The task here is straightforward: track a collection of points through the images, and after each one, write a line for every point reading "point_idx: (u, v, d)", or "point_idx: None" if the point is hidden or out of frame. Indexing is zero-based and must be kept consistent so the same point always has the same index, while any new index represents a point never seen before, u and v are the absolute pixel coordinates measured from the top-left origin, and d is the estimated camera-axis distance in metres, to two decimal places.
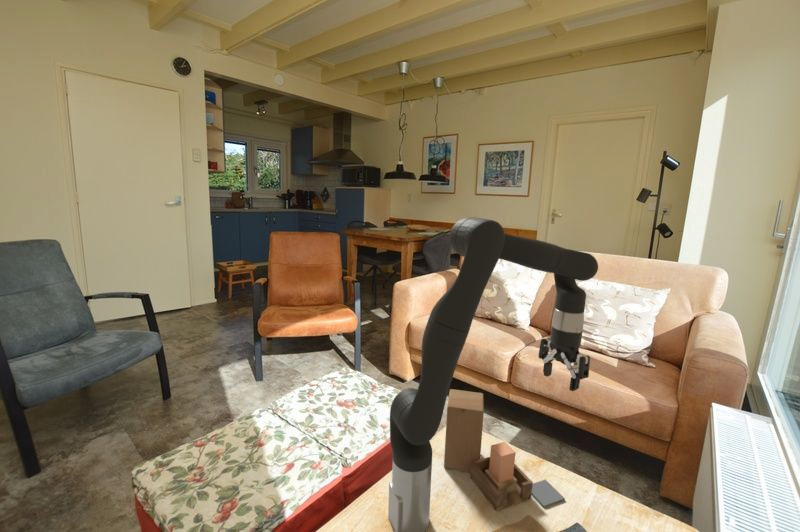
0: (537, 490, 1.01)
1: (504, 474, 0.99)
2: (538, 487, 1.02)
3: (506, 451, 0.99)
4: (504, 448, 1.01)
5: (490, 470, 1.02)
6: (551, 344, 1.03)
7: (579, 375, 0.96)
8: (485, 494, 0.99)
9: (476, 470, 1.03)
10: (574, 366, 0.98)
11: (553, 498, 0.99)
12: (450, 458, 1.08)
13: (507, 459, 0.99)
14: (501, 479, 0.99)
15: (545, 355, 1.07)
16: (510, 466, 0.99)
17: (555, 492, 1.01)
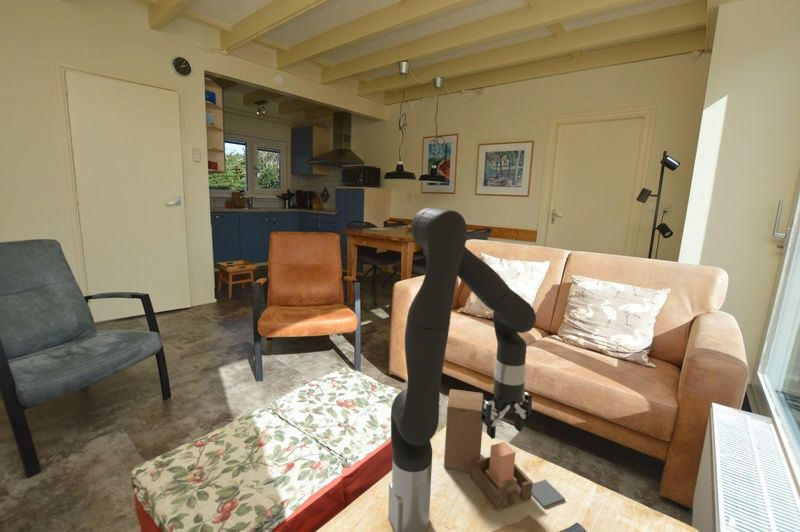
0: (537, 490, 1.01)
1: (504, 474, 0.99)
2: (538, 487, 1.02)
3: (506, 451, 0.99)
4: (504, 448, 1.01)
5: (490, 470, 1.02)
6: (499, 403, 0.95)
7: (529, 412, 1.00)
8: (485, 494, 0.99)
9: (476, 470, 1.03)
10: None
11: (553, 498, 0.99)
12: (450, 458, 1.08)
13: (507, 459, 0.99)
14: (501, 479, 0.99)
15: None
16: (510, 466, 0.99)
17: (555, 492, 1.01)
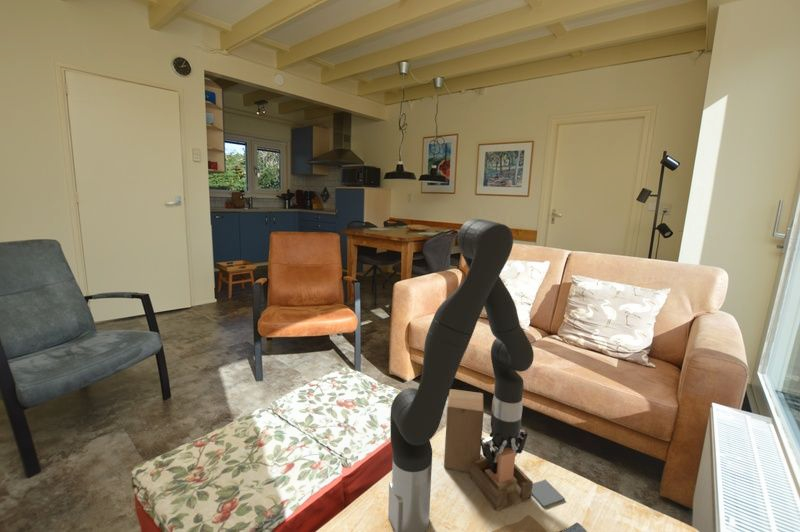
0: (537, 490, 1.01)
1: (504, 474, 0.99)
2: (538, 487, 1.02)
3: (506, 451, 0.99)
4: None
5: (490, 470, 1.02)
6: (496, 439, 0.97)
7: (519, 450, 1.01)
8: (485, 494, 0.99)
9: (476, 470, 1.03)
10: None
11: (553, 498, 0.99)
12: (450, 458, 1.08)
13: (507, 459, 0.99)
14: (501, 479, 0.99)
15: None
16: (510, 466, 0.99)
17: (555, 492, 1.01)
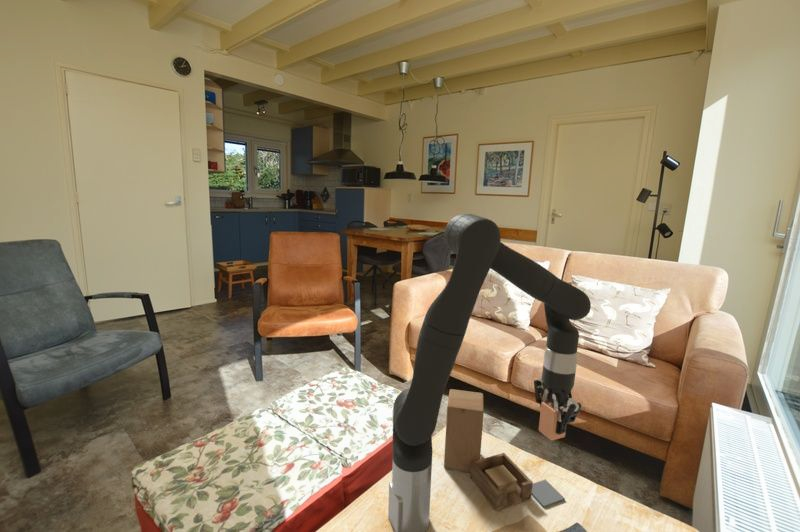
0: (537, 490, 1.01)
1: None
2: (538, 487, 1.02)
3: None
4: (553, 404, 0.96)
5: (553, 437, 0.95)
6: None
7: None
8: (485, 494, 0.99)
9: (476, 470, 1.03)
10: None
11: (553, 498, 0.99)
12: (450, 458, 1.08)
13: None
14: None
15: None
16: None
17: (555, 492, 1.01)
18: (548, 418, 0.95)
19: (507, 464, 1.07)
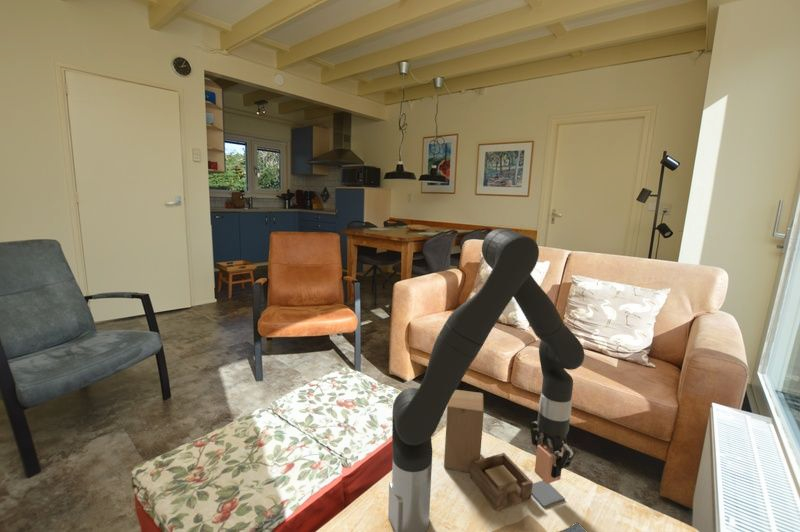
0: (537, 490, 1.01)
1: None
2: (538, 487, 1.02)
3: None
4: None
5: (549, 480, 0.97)
6: None
7: None
8: (485, 494, 0.99)
9: (476, 470, 1.03)
10: None
11: (553, 498, 0.99)
12: (450, 458, 1.08)
13: None
14: None
15: None
16: None
17: (555, 492, 1.01)
18: (544, 462, 0.97)
19: (507, 464, 1.07)
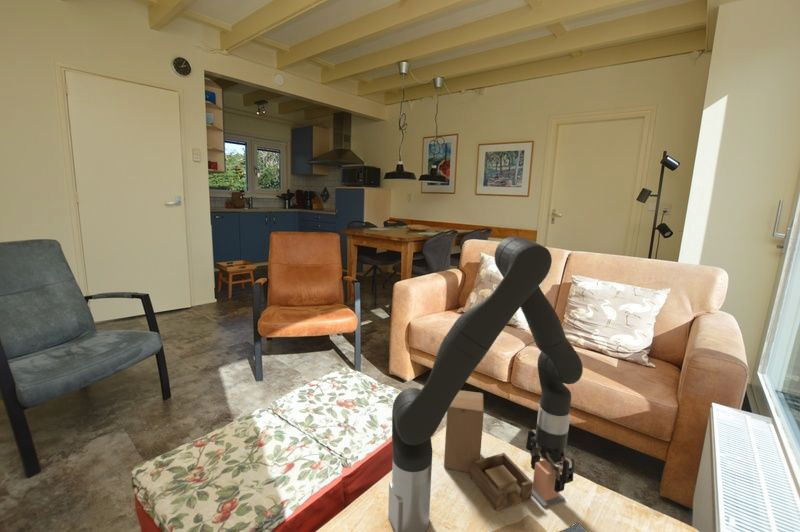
0: None
1: None
2: None
3: None
4: (546, 465, 1.00)
5: (546, 498, 0.98)
6: None
7: None
8: (485, 494, 0.99)
9: (476, 470, 1.03)
10: None
11: (553, 498, 0.99)
12: (450, 458, 1.08)
13: None
14: None
15: None
16: None
17: None
18: (541, 479, 0.98)
19: (507, 464, 1.07)
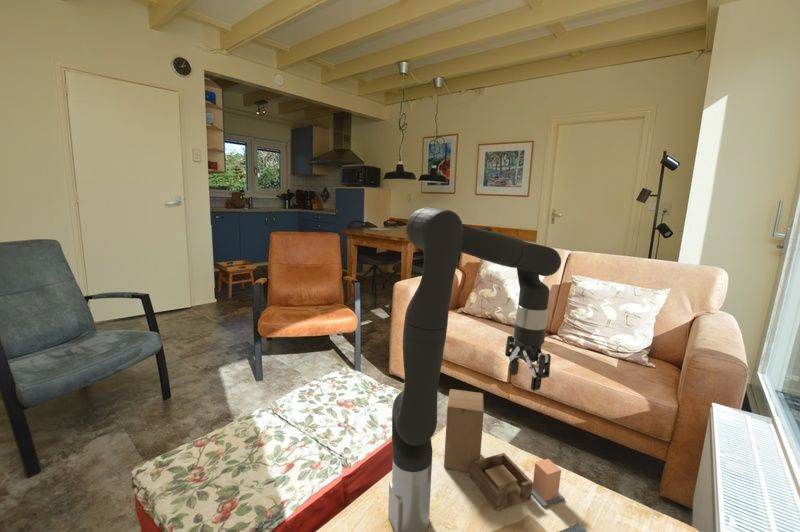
0: None
1: None
2: None
3: (551, 465, 1.00)
4: (546, 465, 1.00)
5: (546, 498, 0.98)
6: None
7: None
8: (485, 494, 0.99)
9: (476, 470, 1.03)
10: None
11: (553, 498, 0.99)
12: (450, 458, 1.08)
13: None
14: None
15: None
16: None
17: None
18: (541, 479, 0.98)
19: (507, 464, 1.07)
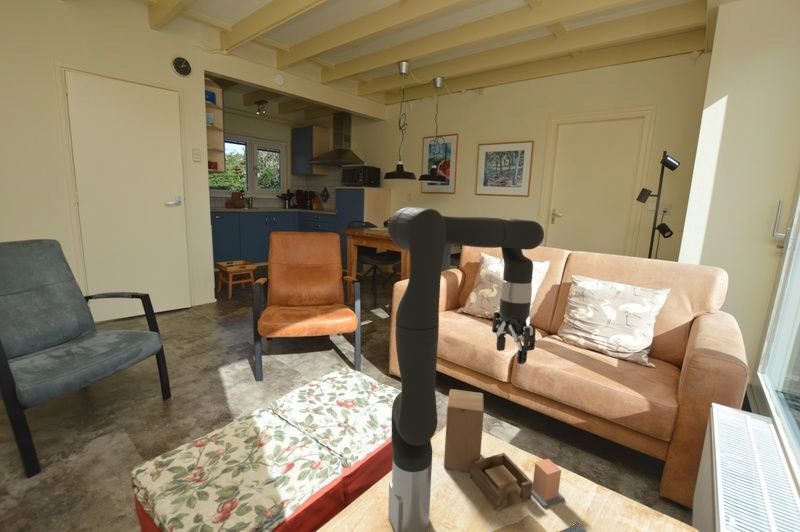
0: None
1: None
2: None
3: (551, 465, 1.00)
4: (546, 465, 1.00)
5: (546, 498, 0.98)
6: None
7: None
8: (485, 494, 0.99)
9: (476, 470, 1.03)
10: None
11: (553, 498, 0.99)
12: (450, 458, 1.08)
13: None
14: None
15: None
16: None
17: None
18: (541, 479, 0.98)
19: (507, 464, 1.07)
